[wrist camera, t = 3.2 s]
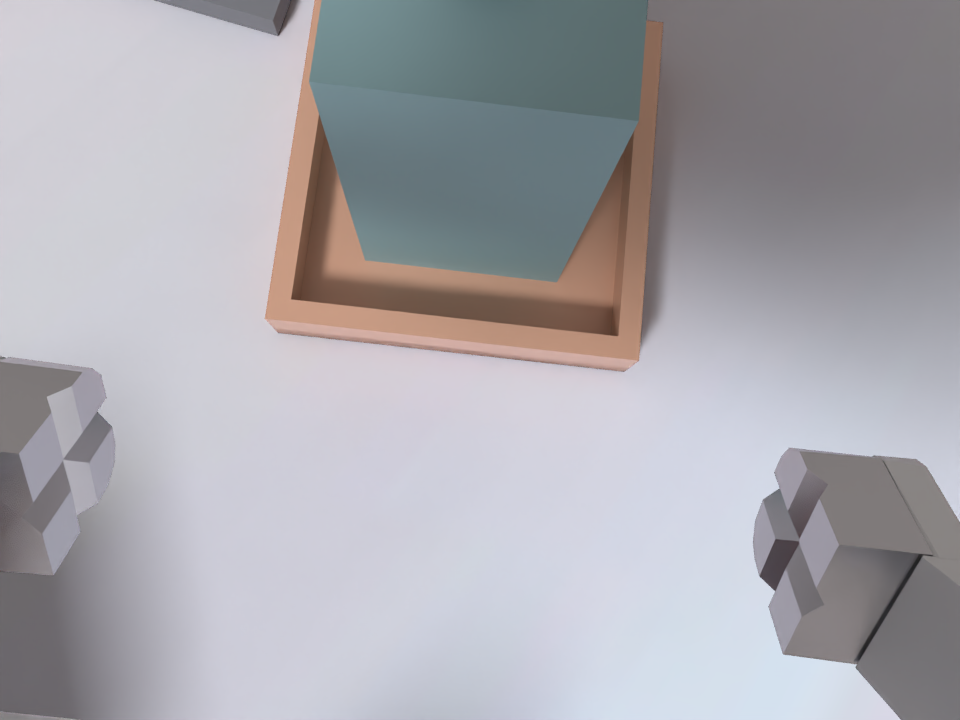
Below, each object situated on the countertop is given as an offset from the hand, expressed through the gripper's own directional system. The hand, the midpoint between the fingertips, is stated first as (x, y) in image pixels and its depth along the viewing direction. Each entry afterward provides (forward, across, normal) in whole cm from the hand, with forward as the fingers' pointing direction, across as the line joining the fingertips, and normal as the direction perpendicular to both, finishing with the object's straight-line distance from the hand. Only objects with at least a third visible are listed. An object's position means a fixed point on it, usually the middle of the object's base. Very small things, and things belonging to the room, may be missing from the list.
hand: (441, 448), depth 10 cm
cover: (+15, 0, +3) cm, 15 cm away
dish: (+15, 0, +3) cm, 16 cm away
